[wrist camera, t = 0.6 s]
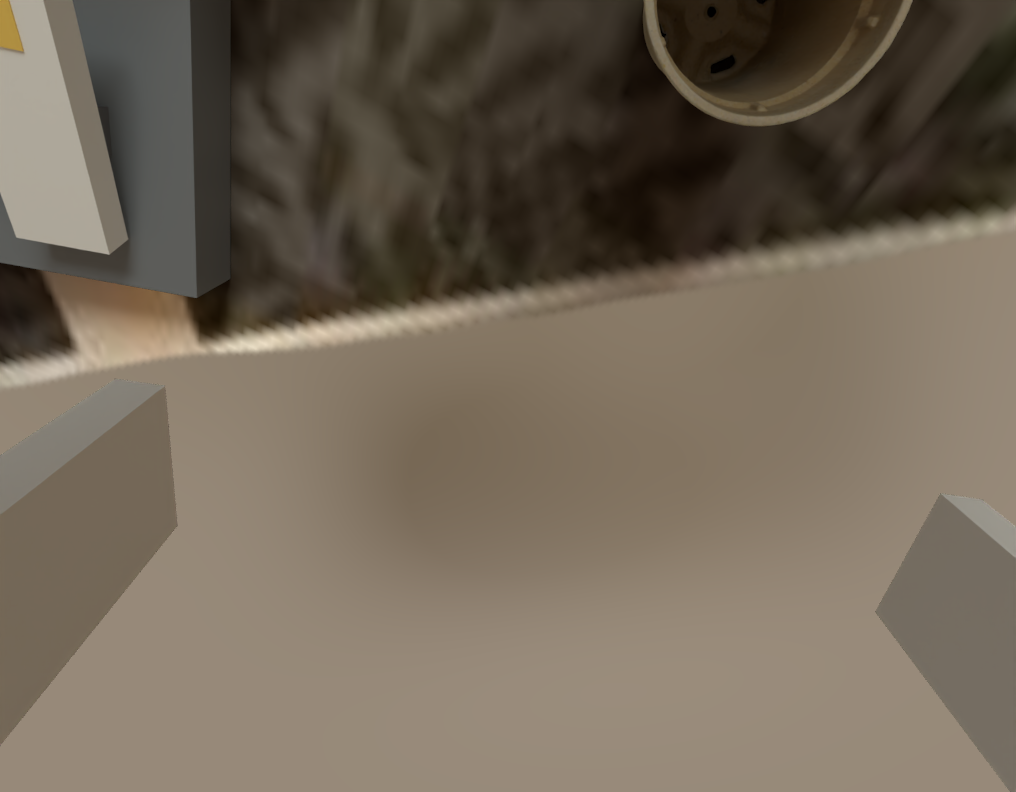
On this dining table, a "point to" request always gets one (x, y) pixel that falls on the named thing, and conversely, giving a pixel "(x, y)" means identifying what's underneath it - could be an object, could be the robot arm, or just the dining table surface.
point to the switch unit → (155, 145)
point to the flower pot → (769, 52)
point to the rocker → (53, 132)
